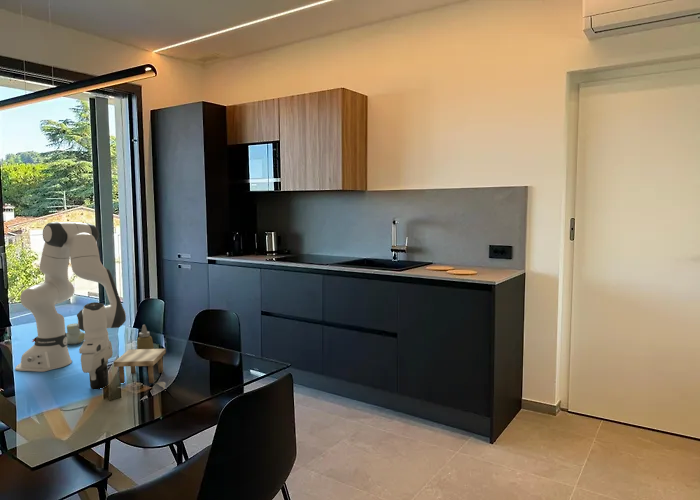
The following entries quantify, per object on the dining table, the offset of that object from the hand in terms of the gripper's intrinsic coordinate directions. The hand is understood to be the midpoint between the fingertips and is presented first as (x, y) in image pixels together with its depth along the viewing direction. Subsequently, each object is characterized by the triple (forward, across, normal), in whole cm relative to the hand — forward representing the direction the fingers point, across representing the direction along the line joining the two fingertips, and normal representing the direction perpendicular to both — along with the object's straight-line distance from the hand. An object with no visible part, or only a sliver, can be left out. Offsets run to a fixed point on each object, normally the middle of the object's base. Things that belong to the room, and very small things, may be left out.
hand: (99, 375), depth 205 cm
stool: (+5, -9, +14) cm, 17 cm away
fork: (+6, +6, +29) cm, 30 cm away
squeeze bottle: (+5, -28, +9) cm, 30 cm away
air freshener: (+5, -61, -40) cm, 73 cm away
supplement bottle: (+5, 0, 0) cm, 5 cm away
